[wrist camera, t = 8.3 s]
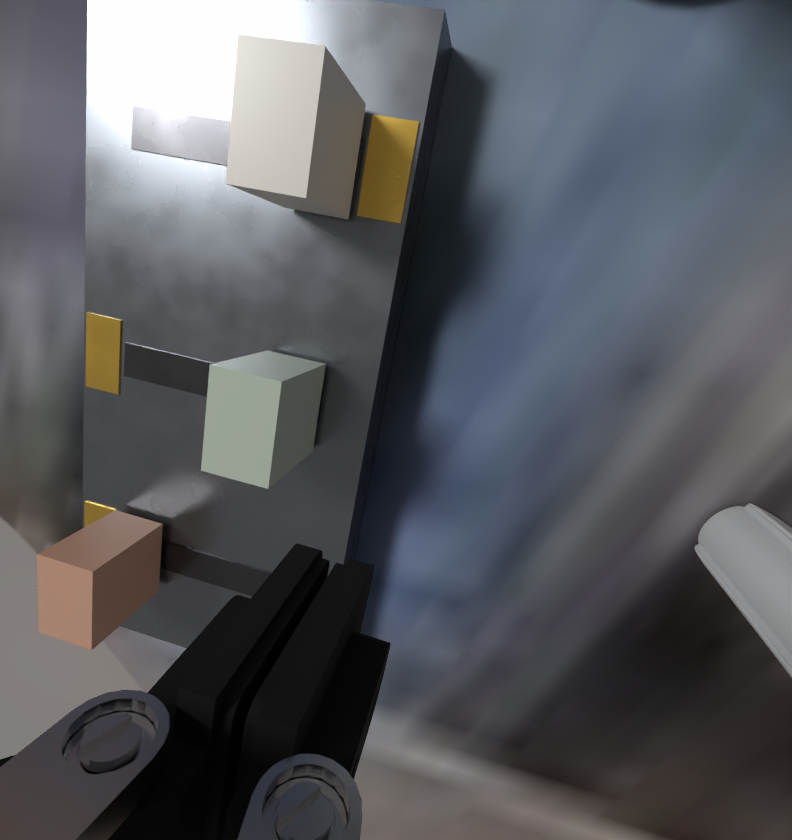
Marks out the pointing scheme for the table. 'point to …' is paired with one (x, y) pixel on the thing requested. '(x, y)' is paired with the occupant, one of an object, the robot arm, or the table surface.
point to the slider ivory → (294, 126)
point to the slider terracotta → (98, 578)
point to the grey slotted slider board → (239, 281)
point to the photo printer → (754, 571)
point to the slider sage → (260, 416)
